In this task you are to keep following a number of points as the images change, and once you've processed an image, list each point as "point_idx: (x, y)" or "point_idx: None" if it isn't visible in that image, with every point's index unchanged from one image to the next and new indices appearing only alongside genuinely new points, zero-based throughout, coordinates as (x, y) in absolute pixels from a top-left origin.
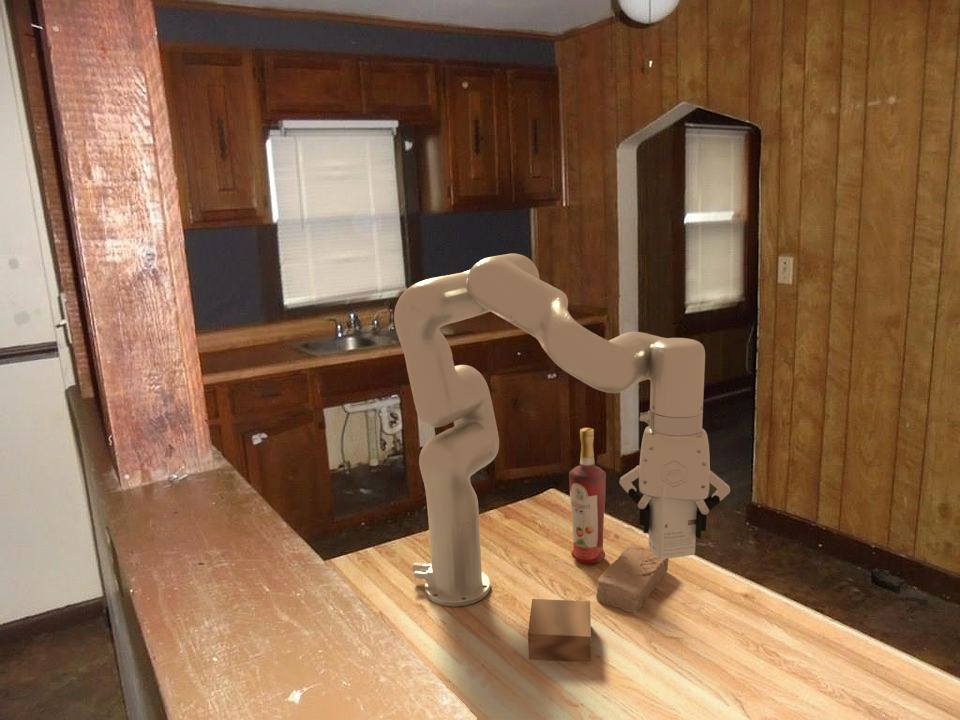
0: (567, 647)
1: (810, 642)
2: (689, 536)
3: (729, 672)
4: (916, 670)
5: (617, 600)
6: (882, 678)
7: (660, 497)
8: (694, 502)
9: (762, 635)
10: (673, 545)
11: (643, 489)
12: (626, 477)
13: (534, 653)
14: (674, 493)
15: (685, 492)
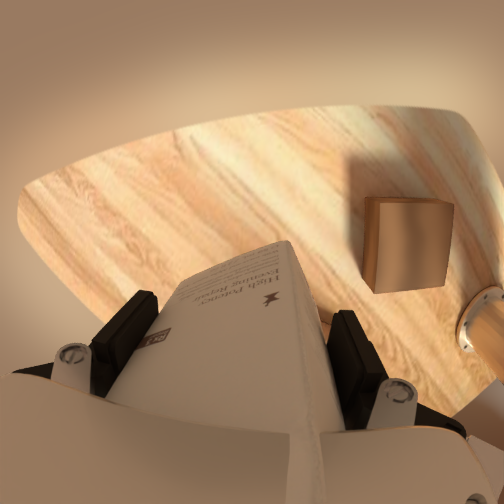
0: (402, 200)
1: (97, 273)
2: (179, 304)
3: (182, 200)
4: (30, 239)
5: (324, 326)
6: (49, 222)
7: (322, 432)
8: None
9: (141, 281)
10: (241, 268)
11: (463, 453)
12: (496, 490)
13: (432, 199)
14: (189, 461)
15: (85, 445)
